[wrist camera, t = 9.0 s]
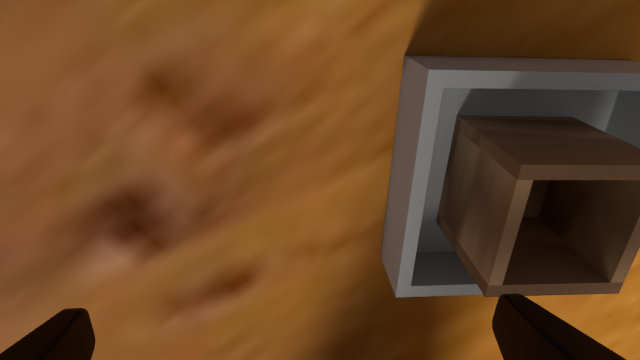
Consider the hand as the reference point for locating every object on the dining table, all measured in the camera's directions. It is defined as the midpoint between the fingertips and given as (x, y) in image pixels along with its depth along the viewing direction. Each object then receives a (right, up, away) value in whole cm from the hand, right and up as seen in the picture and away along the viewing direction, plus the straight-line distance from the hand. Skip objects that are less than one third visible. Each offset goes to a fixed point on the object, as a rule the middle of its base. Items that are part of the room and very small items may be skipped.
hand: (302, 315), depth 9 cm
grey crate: (+10, +4, +13) cm, 17 cm away
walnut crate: (+10, +3, +12) cm, 16 cm away
